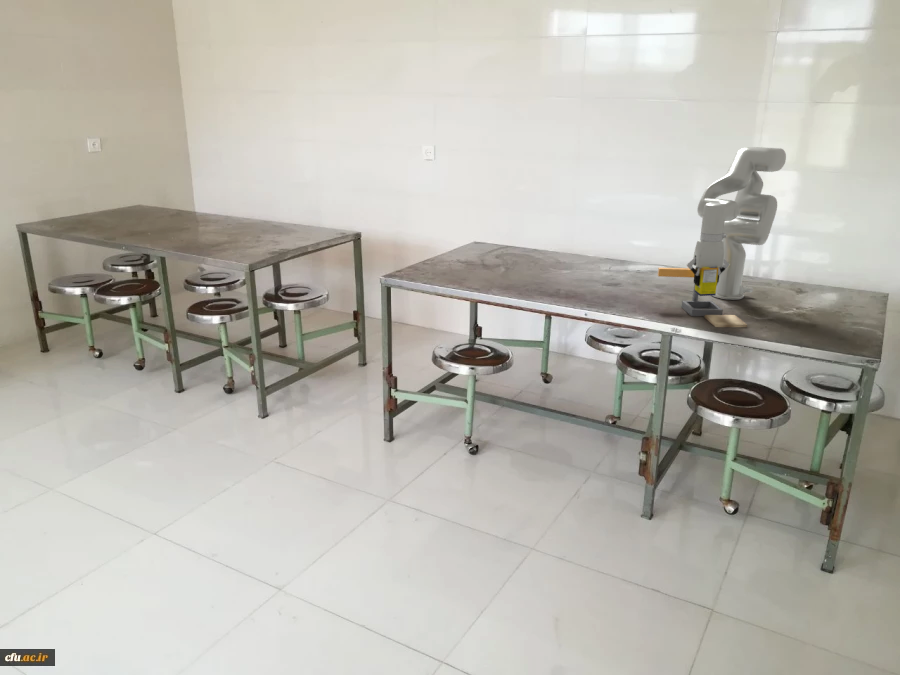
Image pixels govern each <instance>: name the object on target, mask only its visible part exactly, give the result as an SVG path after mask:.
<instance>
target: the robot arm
mask: <svg viewBox="0 0 900 675" xmlns="http://www.w3.org/2000/svg"><path fill="white" fill-rule="evenodd" d="M786 160H787V154H786V151H785V150H784V148H781V147H763V146H761V147H758V146H750V147H743V148H740V149H739V150H738V151H737V152H736V153H735V156H734V158H733V159H732V161H731V163H730V166H729V167H728V170H727V172H726V173H725V176H723V177H721V178H720V179H718V180H716V181H714V182H713V183H711V184H710V185H709V186H707V188H706V189H705V190H704V192H703V194H702V196H701V198H700V200H699V202H698V206H697V215H698V216H699V217H700V218H702V219H701V220H702V221H701V227H700V229H701V230H700V236H699V239H698V240H697V242H696V244H695V248H694V253H693V257H692V259H691V260H690V261H689V262H688V263H687V264H686V268H689V269H690V270H691V271H692V272H693V273H694V277H693V284H694V283H695V285H696V286H699V283H700V275H699V274H700V272H701V268H702V267H718V268H719V269H718V277H717V286H716V295H711V296H712V297H714V298H716V299H721V300H727V301H731V300H733V301H735V300H742V299H744V297H745V293H753V292H754V288H753V287H747V286H743V285H742V283H743V276H744V269H745V265H746V264H745V262H746V256H747V254H746V250H745V248H744V246H743V245H742V244H744V245H750V246H751V245H753V246H763V245H764V244H766V242H767V241H768V238H769V236H770V233H771V229H772V227H773V223H774V220H775V217H776V214H777V210H778V201H777V198H776V197H775V196H774V195H770V194H765V193H764V194H762V191H763V188H764V181H763V179H762V177H761V175H760V174H759V173H758V172H763V173H767V172H769V173H773V172H779V171H780V170H781V169H783V167H784V166H785V164H786ZM730 193H736V196H735V198H734V200H732V199H731V200H730V199H722V198H719V197H721V196H723V195H728V194H730ZM693 266H695V267H693Z"/></svg>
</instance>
